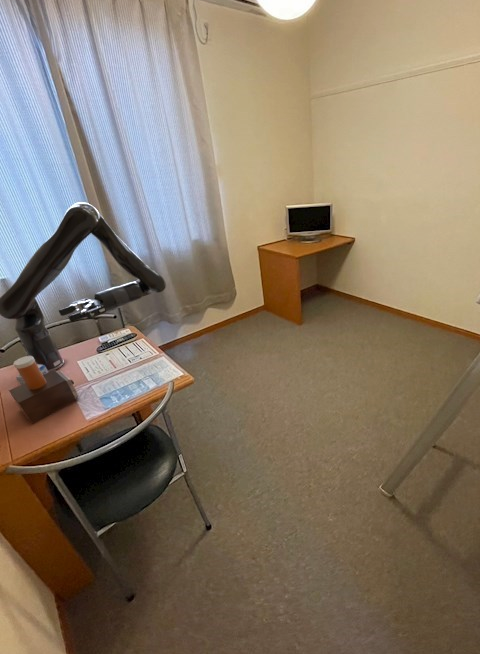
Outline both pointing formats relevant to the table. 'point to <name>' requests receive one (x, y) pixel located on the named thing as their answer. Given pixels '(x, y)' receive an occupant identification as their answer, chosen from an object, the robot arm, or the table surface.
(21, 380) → the medicine box
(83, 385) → the table surface
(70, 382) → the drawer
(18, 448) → the table surface
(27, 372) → the pill bottle
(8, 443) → the table surface
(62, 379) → the dark brown box
